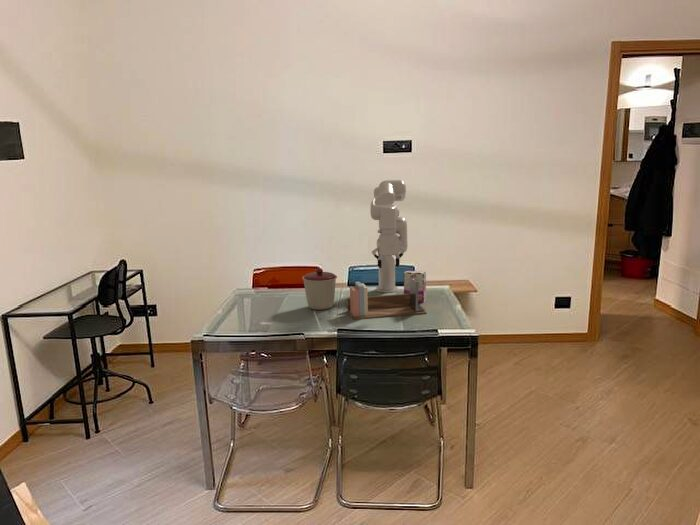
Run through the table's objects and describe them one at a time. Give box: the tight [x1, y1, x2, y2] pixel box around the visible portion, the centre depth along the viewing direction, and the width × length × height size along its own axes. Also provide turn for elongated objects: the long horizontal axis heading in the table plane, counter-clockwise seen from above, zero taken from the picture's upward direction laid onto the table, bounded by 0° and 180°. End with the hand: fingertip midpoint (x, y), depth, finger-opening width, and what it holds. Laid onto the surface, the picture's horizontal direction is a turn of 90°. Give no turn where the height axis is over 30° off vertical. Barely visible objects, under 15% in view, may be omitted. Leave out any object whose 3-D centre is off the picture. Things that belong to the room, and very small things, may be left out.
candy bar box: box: [403, 270, 427, 304], centre depth 285 cm, size 11×5×16 cm, turn 66°
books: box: [349, 281, 369, 317], centre depth 263 cm, size 10×7×15 cm
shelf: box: [346, 293, 427, 321], centre depth 267 cm, size 15×37×7 cm, turn 101°
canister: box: [302, 267, 338, 311], centre depth 277 cm, size 18×18×21 cm
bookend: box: [410, 278, 426, 312], centre depth 268 cm, size 10×5×15 cm, turn 11°
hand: (388, 267), depth 262 cm, fingers open, 8 cm apart
